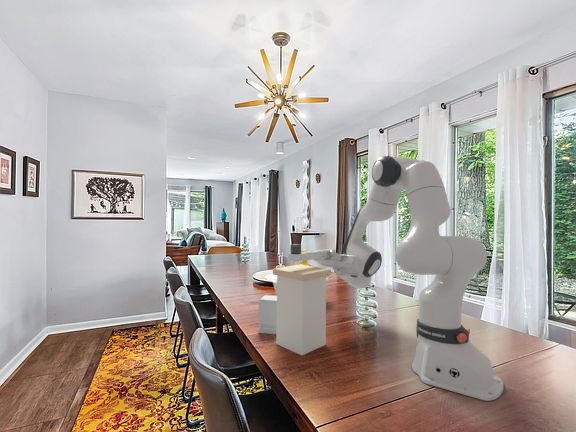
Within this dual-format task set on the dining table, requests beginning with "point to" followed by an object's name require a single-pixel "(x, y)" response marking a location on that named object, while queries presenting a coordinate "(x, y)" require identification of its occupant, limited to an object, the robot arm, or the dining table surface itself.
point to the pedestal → (301, 307)
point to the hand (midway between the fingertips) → (326, 252)
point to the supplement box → (268, 314)
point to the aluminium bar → (307, 254)
